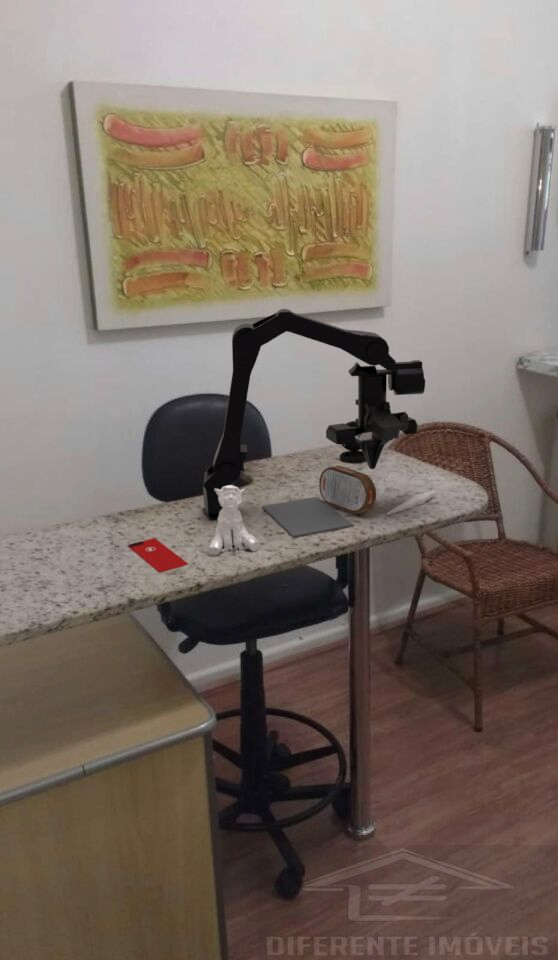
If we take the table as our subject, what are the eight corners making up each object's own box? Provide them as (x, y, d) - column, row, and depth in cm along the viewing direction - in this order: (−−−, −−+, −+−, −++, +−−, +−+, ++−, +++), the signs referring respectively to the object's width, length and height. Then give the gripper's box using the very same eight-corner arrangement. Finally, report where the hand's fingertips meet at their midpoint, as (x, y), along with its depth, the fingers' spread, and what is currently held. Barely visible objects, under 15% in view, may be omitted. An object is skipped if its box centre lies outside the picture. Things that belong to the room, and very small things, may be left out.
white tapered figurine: (429, 495, 165) (429, 487, 164) (439, 498, 163) (439, 490, 162) (382, 516, 156) (382, 507, 155) (391, 519, 154) (391, 511, 153)
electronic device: (189, 566, 136) (154, 540, 148) (188, 563, 136) (154, 537, 148) (159, 575, 133) (127, 547, 145) (159, 572, 133) (127, 544, 145)
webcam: (341, 464, 188) (341, 425, 185) (337, 455, 195) (336, 418, 192) (372, 462, 188) (372, 424, 185) (366, 453, 195) (366, 416, 192)
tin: (373, 517, 154) (380, 477, 152) (363, 518, 151) (369, 477, 150) (324, 499, 165) (330, 461, 163) (314, 499, 163) (319, 461, 161)
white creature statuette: (209, 557, 138) (204, 496, 134) (204, 539, 146) (199, 481, 143) (259, 551, 140) (256, 491, 136) (252, 534, 148) (248, 476, 144)
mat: (293, 537, 145) (293, 535, 145) (262, 507, 161) (262, 506, 161) (353, 526, 150) (353, 524, 149) (317, 498, 166) (317, 496, 165)
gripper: (348, 409, 143) (348, 486, 148) (433, 398, 149) (430, 473, 154) (324, 398, 152) (325, 471, 158) (404, 388, 159) (403, 458, 164)
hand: (372, 468), depth 158 cm, fingers closed
